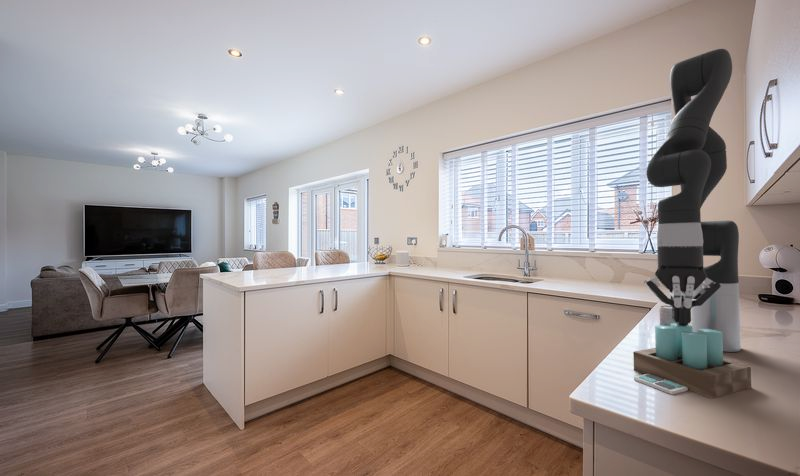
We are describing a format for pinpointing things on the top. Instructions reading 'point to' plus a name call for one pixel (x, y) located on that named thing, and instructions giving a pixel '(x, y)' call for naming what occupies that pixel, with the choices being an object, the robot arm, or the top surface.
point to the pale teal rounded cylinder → (666, 343)
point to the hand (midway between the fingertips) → (681, 324)
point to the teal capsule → (679, 335)
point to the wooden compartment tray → (695, 374)
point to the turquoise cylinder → (713, 346)
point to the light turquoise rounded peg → (694, 350)
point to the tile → (661, 383)
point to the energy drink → (666, 316)
